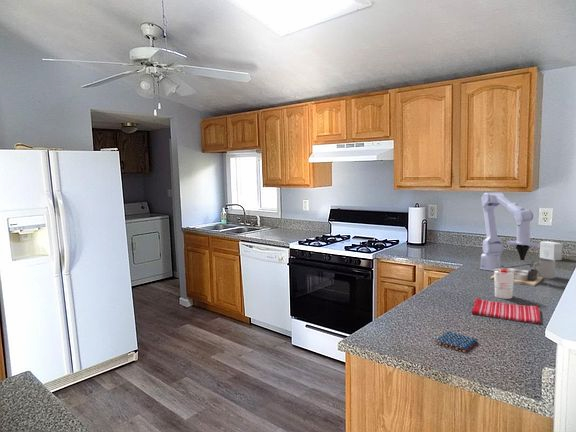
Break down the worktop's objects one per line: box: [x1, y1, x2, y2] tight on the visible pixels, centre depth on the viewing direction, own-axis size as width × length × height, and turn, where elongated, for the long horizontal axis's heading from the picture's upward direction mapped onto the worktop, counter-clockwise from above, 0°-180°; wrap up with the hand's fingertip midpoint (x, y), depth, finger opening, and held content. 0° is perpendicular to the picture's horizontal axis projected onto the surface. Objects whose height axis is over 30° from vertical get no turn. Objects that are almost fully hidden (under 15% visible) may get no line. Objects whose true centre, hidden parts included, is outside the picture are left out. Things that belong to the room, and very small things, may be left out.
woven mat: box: [434, 331, 479, 353], centre depth 131 cm, size 10×11×2 cm
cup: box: [532, 258, 557, 280], centre depth 207 cm, size 7×10×9 cm
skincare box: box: [539, 240, 563, 261], centre depth 246 cm, size 10×6×10 cm, turn 14°
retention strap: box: [500, 262, 534, 269], centre depth 203 cm, size 16×3×2 cm, turn 45°
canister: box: [493, 268, 515, 300], centre depth 176 cm, size 10×8×12 cm
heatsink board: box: [489, 265, 544, 287], centre depth 203 cm, size 20×16×6 cm
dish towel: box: [471, 298, 542, 325], centre depth 157 cm, size 17×24×3 cm
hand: (522, 259), depth 201 cm, fingers closed
